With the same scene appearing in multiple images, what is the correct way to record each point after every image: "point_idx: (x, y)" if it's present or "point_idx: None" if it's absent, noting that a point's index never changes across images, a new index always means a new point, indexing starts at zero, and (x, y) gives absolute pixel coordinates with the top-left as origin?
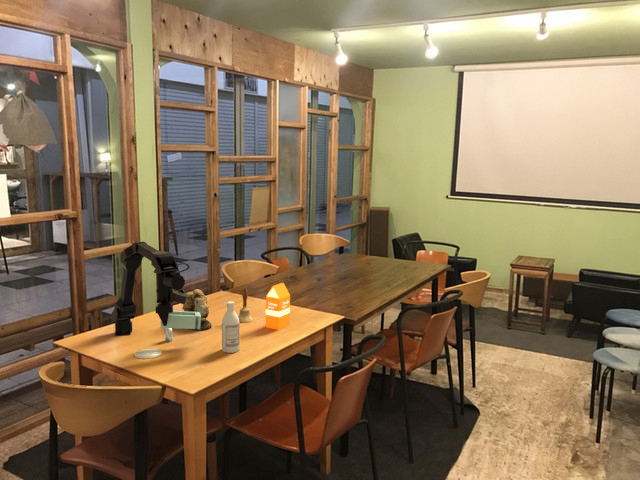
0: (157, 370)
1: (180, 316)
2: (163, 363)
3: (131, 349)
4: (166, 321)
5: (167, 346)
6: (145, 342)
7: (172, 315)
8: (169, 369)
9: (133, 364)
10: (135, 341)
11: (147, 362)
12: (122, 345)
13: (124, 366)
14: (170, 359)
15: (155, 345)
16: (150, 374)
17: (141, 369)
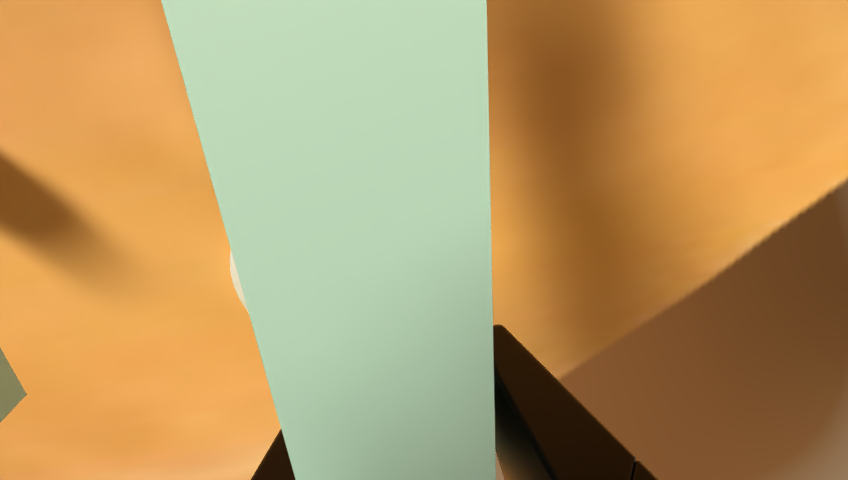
0: (757, 135)
1: (485, 81)
2: (613, 105)
3: (236, 389)
4: (562, 402)
5: (117, 127)
6: (40, 335)
7: (491, 420)
8: (788, 28)
9: (559, 318)
10: (35, 402)
11: (546, 238)
12: (151, 451)
13: (578, 358)
14: (526, 47)
15: (107, 245)
16: (811, 176)
17: (679, 253)
